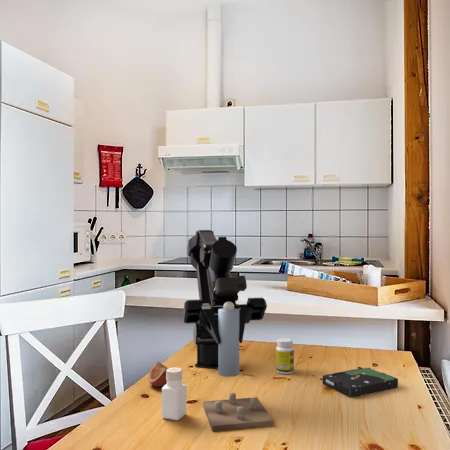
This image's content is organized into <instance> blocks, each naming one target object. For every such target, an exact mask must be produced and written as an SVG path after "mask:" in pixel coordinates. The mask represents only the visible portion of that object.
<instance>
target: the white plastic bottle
mask: <svg viewBox="0 0 450 450" xmlns="http://www.w3.org/2000/svg"><path fill="white" fill-rule="evenodd" d="M166 380H167V384H166V385H165V386H162V387H161V417H162V418H163V419H167V420H172V421H180V419H182V418H183V417H184V416H185V415H187V385H186V384H184V383H183V381H182V380H183V369H182V368H180V367H175V366H174V367H169V369H167V370H166Z"/></svg>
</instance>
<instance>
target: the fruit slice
mask: <svg viewBox="0 0 450 450" xmlns="http://www.w3.org/2000/svg"><path fill="white" fill-rule="evenodd" d="M169 368H170V367H169ZM169 368H168V367H167V366H166V365H164V363H163V364H162V363H161V362H160V361H159V360H156V361H155V363H154V364H153V365H152V366H151V367H150V370H149V373H148V377H147V379H148V382H149V384H150V385H152V386H154V387H158V388H159V387H164V386H165V385H166V384H167V380H166V370H167V369H169Z"/></svg>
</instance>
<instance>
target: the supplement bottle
mask: <svg viewBox="0 0 450 450" xmlns="http://www.w3.org/2000/svg"><path fill="white" fill-rule="evenodd" d="M276 341H277V342H276V343H277V346H276V347H275V371H276V373H278V374H281V375H290V374H293V373H294V372H295V348H294V347H293V343H294V342H293V339H291V338H288V337H287V338H286V337H281V338H278V339H277V340H276Z"/></svg>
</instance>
